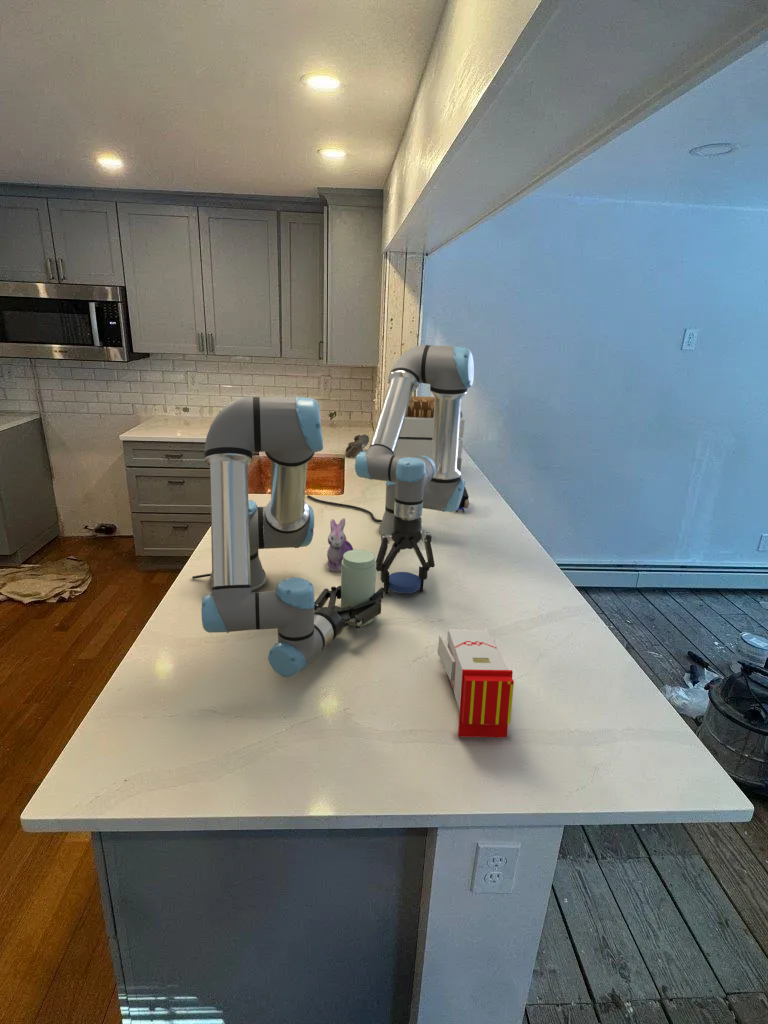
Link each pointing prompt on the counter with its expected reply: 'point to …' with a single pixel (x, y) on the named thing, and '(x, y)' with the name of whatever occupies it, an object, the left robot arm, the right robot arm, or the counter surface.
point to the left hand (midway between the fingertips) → (366, 588)
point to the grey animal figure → (357, 445)
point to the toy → (478, 682)
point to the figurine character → (464, 501)
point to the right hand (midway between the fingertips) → (403, 590)
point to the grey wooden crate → (421, 430)
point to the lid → (404, 582)
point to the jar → (357, 578)
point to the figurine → (337, 545)
